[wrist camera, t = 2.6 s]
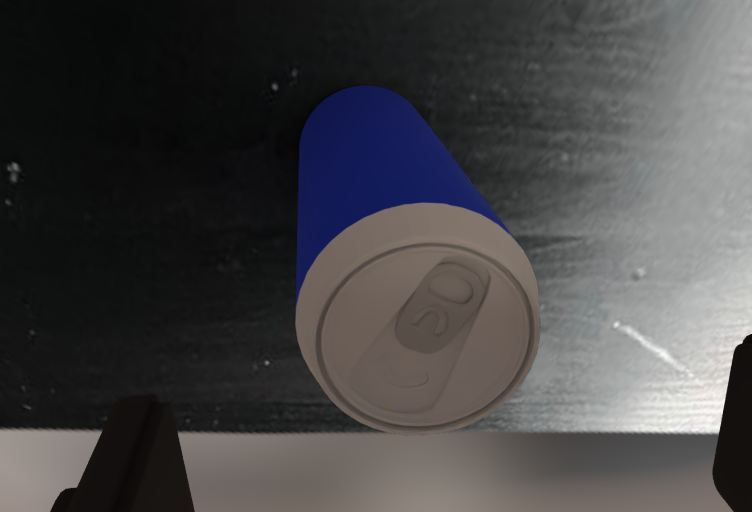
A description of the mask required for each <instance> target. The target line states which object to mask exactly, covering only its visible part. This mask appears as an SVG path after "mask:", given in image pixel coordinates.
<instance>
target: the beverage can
mask: <svg viewBox="0 0 752 512" xmlns="http://www.w3.org/2000/svg"><path fill="white" fill-rule="evenodd" d="M295 324H296V332H297V339H298V343H299V346H300V349H301V352H302V355H303V358H304V359H305V361H306V363H307V365H308V367H309V369H310V371H311V372H312V374H313V375H314V377H315V378H316V380H317V381H318V383H319V384H320V386H321V387H322V389H323V391H324V392H325V393H326V394H327V396H328V397H329V398H330V399H331V401H332V402H333V403H334V404H335V405H337V406H338V407H339V408H340V409H341V410H342V411H343V412H344V413H346V414H348V415H349V416H351V417H352V418H354V419H355V420H357V421H359V422H361V423H363V424H365V425H367V426H370V427H372V428H374V429H378V430H381V431H385V432H388V433H394V434H401V435H431V434H440V433H444V432H448V431H452V430H456V429H459V428H462V427H464V426H467V425H470V424H472V423H474V422H476V421H478V420H480V419H482V418H484V417H485V416H487V415H489V414H490V413H492V412H493V411H494V410H496V409H497V408H499V407H500V406H501V405H502V404H503V403H504V402H505V401H507V400H508V399H509V398H510V397H511V396H512V395H513V394H514V393H515V391H516V390H517V389H518V388H519V386H520V385H521V384H522V383H523V381H524V379H525V378H526V376H527V374H528V372H529V371H530V369H531V367H532V364H533V362H534V359H535V357H536V354H537V349H538V344H539V340H540V316H539V295H538V288H537V281H536V278H535V275H534V272H533V269H532V266H531V264H530V262H529V260H528V258H527V256H526V255H525V253H524V251H523V249H522V248H521V247H520V245H519V244H518V243H517V241H516V240H515V239H514V237H513V236H512V235H511V233H510V232H509V231H508V229H507V228H506V227H505V226H504V224H503V223H502V222H501V220H500V219H499V218H498V216H497V215H496V214H495V212H494V211H493V210H492V208H491V207H490V206H489V204H488V203H487V202H486V201H485V199H484V198H483V197H482V195H481V194H480V193H479V191H478V190H477V189H476V187H475V186H474V185H473V183H472V182H471V181H470V179H469V178H468V177H467V176H466V174H465V173H464V172H463V170H462V169H461V168H460V166H459V165H458V164H457V162H456V161H455V160H454V158H453V157H452V156H451V154H450V153H449V152H448V151H447V149H446V148H445V147H444V145H443V144H442V143H441V141H440V140H439V139H438V137H437V136H436V135H435V133H434V132H433V131H432V129H431V128H430V127H429V126H428V124H427V123H426V122H425V120H424V119H423V118H422V116H421V115H420V114H419V112H418V111H417V110H416V109H415V108H414V106H413V105H412V104H411V103H410V102H408V101H407V100H406V99H405V98H404V97H402V96H400V95H399V94H397V93H395V92H393V91H391V90H388V89H386V88H381V87H377V86H366V85H365V86H354V87H350V88H346V89H343V90H341V91H338V92H336V93H334V94H332V95H331V96H329V97H328V98H326V99H325V100H324V101H322V102H321V103H320V104H319V105H318V106H317V107H316V108H315V110H314V111H313V112H312V113H311V114H310V116H309V118H308V120H307V121H306V123H305V126H304V128H303V131H302V134H301V138H300V144H299V180H298V226H297V272H296V317H295Z"/></svg>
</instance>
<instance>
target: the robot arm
mask: <svg viewBox="0 0 752 512" xmlns="http://www.w3.org/2000/svg"><path fill="white" fill-rule="evenodd" d="M712 474H713V480H714V484H715V486H716V489H717V490H718V492H719V494H720V495H721V496H722V497H723V499H724V500H725V501H726V503H727V504H728V505H729V506H730V508H731V509H732V510H733V511H734V512H752V334H750V335H748V336H746V338H745V339H744V340H743V343H742V344H740V345H737V347H736V348H735V351H734V354H733V360H732V365H731V371H730V376H729V382H728V387H727V393H726V398H725V404H724V409H723V415H722V420H721V426H720V431H719V437H718V443H717V448H716V454H715V459H714V465H713V473H712ZM50 512H195V511H194V507H193V502H192V497H191V493H190V488H189V484H188V479H187V474H186V470H185V465H184V460H183V456H182V451H181V447H180V442H179V438H178V432H177V428H176V423H175V418H174V414H173V409H172V406H171V404H170V403H169V402H164V403H160V401H159V399H158V397H157V395H155V394H152V395H142V396H132V397H122V398H119V399H117V401H116V402H115V404H114V406H113V409H112V411H111V413H110V415H109V418H108V420H107V422H106V424H105V426H104V429H103V431H102V433H101V435H100V438H99V440H98V442H97V444H96V447H95V449H94V451H93V453H92V455H91V458H90V460H89V462H88V464H87V467H86V469H85V471H84V473H83V476H82V478H81V480H80V482H79V484H78V487H77V488H68V489H65V490H64V491H62V492H61V493H60V495H59V496H58V498H57V499H56V501H55V503H54V505H53V507H52V509H51V511H50Z"/></svg>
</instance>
